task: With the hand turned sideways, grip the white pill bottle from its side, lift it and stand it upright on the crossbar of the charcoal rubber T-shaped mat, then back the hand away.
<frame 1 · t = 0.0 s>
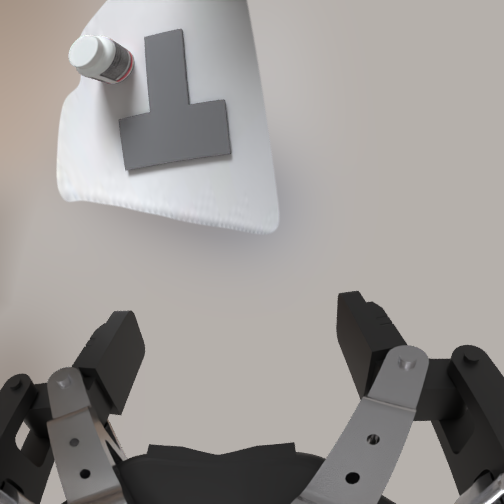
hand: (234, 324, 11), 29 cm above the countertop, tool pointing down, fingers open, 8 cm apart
t mat: (168, 87, 33), on the countertop
pill bottle: (117, 66, 32), on the countertop
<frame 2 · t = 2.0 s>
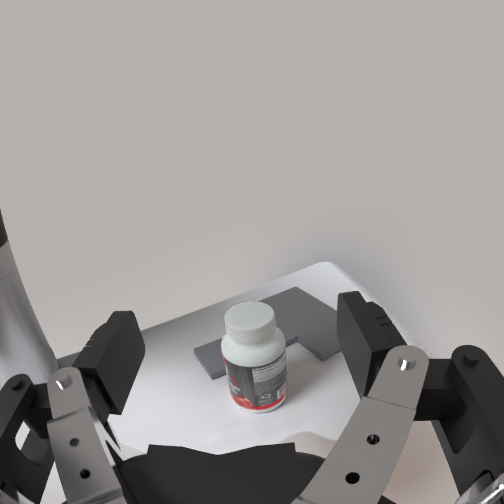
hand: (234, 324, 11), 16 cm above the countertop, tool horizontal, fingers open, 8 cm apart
t mat: (264, 340, 35), on the countertop
pill bottle: (259, 395, 27), on the countertop
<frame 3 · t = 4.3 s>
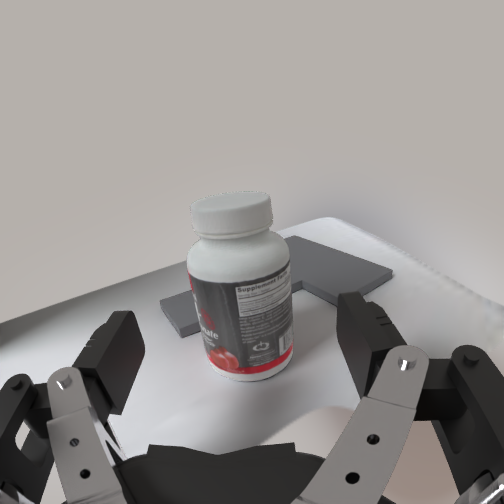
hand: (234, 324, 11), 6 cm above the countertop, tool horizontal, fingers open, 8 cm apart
t mat: (257, 289, 26), on the countertop
pill bottle: (251, 357, 18), on the countertop
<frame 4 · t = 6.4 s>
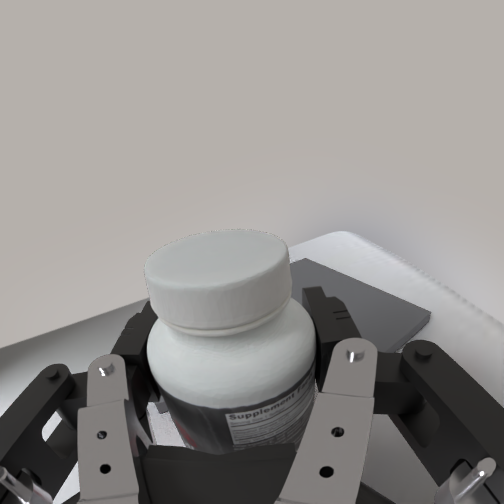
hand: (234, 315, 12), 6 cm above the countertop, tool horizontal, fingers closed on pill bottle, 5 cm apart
t mat: (260, 339, 20), on the countertop
pill bottle: (251, 450, 12), on the countertop, touching gripper
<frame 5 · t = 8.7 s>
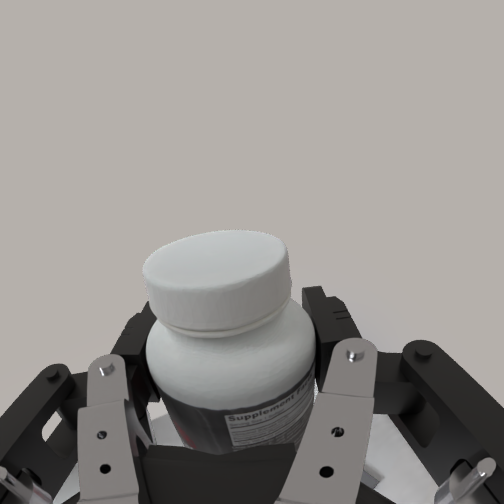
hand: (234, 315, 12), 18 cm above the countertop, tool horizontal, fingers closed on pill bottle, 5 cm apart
pill bottle: (251, 451, 12), point 11 cm above the countertop, touching gripper
when the fingers open (8 cm above the countertop, at t = 11.4 s): pill bottle drops 1 cm, resting on t mat.
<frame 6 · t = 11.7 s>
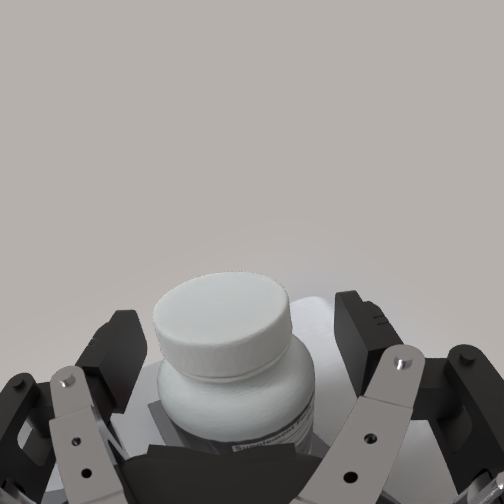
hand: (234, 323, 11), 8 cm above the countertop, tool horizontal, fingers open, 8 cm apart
pill bottle: (255, 466, 12), point 1 cm above the countertop, touching t mat
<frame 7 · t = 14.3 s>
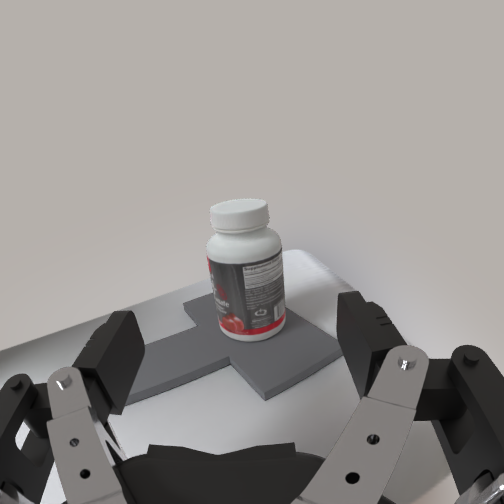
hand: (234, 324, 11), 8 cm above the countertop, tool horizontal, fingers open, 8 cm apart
t mat: (181, 360, 22), on the countertop
pill bottle: (253, 325, 24), point 1 cm above the countertop, touching t mat
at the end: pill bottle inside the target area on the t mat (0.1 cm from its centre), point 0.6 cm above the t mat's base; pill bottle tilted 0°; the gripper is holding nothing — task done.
